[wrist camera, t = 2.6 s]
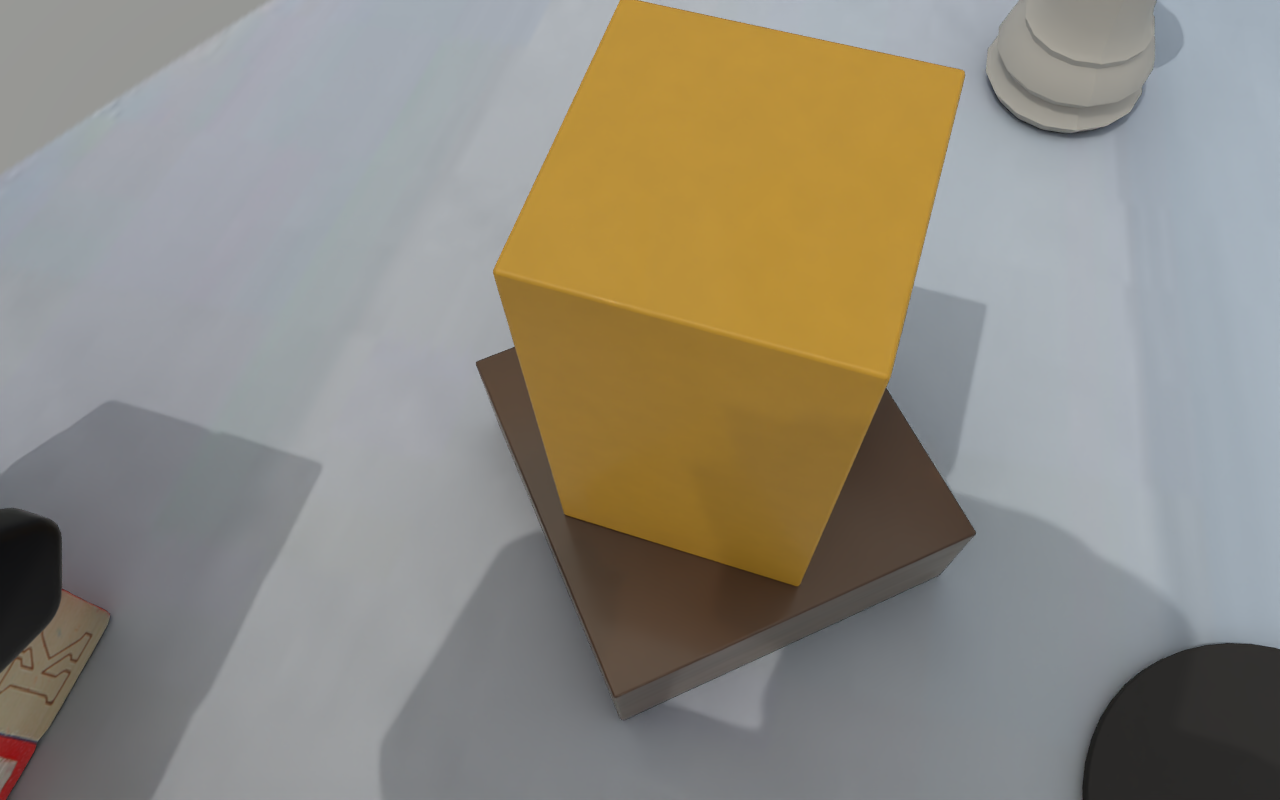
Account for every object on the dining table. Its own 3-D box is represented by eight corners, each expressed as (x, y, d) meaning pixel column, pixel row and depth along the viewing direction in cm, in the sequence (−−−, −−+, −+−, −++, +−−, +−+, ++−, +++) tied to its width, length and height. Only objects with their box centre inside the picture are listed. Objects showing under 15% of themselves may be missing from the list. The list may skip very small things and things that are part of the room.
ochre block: (799, 588, 19) (890, 379, 11) (563, 515, 20) (489, 270, 12) (855, 374, 21) (967, 68, 13) (639, 316, 22) (620, -6, 14)
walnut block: (941, 574, 22) (978, 533, 20) (621, 721, 21) (614, 698, 18) (780, 304, 26) (793, 237, 23) (496, 418, 24) (474, 361, 22)
